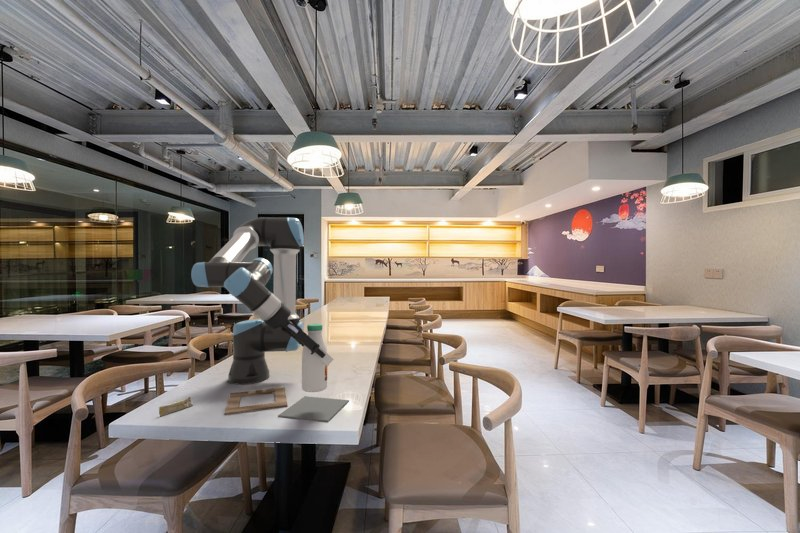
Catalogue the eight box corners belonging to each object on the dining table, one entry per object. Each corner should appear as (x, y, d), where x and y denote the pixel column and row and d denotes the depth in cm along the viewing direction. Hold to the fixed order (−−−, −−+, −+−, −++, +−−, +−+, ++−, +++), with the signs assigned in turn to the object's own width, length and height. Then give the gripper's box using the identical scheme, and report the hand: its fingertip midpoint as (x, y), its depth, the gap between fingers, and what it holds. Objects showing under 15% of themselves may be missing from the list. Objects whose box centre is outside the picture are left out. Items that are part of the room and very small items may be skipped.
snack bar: (160, 417, 105) (160, 407, 105) (157, 416, 106) (157, 406, 106) (192, 406, 113) (192, 397, 114) (190, 405, 114) (190, 396, 114)
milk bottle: (321, 393, 106) (321, 326, 106) (297, 392, 107) (297, 325, 107) (331, 385, 113) (331, 323, 113) (308, 383, 115) (309, 322, 115)
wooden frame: (230, 394, 123) (230, 392, 123) (284, 388, 130) (284, 386, 130) (224, 414, 106) (224, 412, 107) (287, 406, 113) (287, 403, 113)
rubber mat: (304, 397, 121) (304, 396, 121) (348, 401, 117) (348, 400, 117) (278, 416, 105) (278, 415, 105) (328, 421, 101) (328, 420, 101)
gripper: (256, 317, 111) (307, 362, 119) (270, 326, 94) (328, 377, 102) (274, 299, 114) (322, 344, 122) (290, 305, 97) (346, 356, 105)
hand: (325, 359), depth 112 cm, fingers closed on milk bottle, 7 cm apart
